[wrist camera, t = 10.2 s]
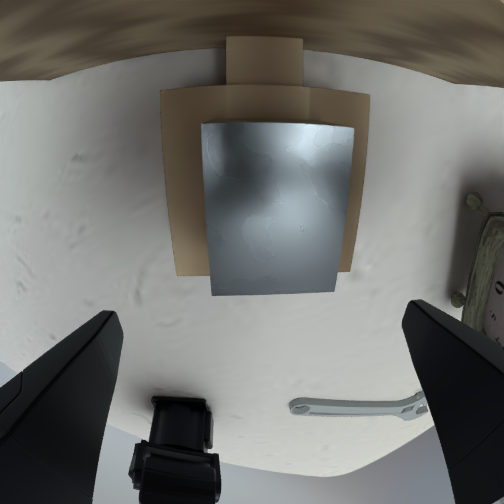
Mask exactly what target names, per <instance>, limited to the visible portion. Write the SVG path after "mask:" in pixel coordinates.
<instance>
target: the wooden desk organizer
mask: <svg viewBox="0 0 504 504" xmlns="http://www.w3.org/2000/svg"><path fill="white" fill-rule="evenodd" d="M222 47H226V85H216V86H198V87H186V88H175V89H166V90H160V104H161V128H162V145H163V160H164V172H165V184H166V194H167V204H168V213H169V222H170V230H171V238H172V246H173V253H174V260H175V267H176V274H177V276H210V268H209V256H208V243H207V229H206V214H205V198H204V180H203V158H202V131H201V124H202V123H205V122H207V121H209V120H211V119H235V118H271V119H299V120H316V121H326V122H330V123H335V124H339V125H344V126H348V127H352V128H354V139H353V153H352V165H351V176H350V186H349V195H348V204H347V212H346V220H345V228H344V235H343V242H342V248H341V255H340V261H339V267H338V272H350V269H351V264H352V258H353V253H354V247H355V241H356V235H357V228H358V222H359V215H360V208H361V200H362V192H363V184H364V175H365V165H366V155H367V143H368V129H369V111H370V95H369V94H362V93H356V92H349V91H341V90H333V89H324V88H313V87H303V50H312V51H321V52H329V53H336V54H343V55H349V56H354V57H360V58H365V59H370V60H375V61H379V62H384V63H388V64H392V65H396V66H400V67H404V68H407V69H411V70H415V71H418V72H421V73H425V74H428V75H431V76H434V77H437V78H440V79H443V80H446V81H448V82H451V83H454V84H466V85H480V86H491V87H500V88H504V0H0V81H19V80H52V79H54V78H57V77H60V76H63V75H66V74H70V73H73V72H76V71H79V70H83V69H87V68H90V67H94V66H98V65H102V64H106V63H110V62H114V61H119V60H124V59H129V58H134V57H139V56H145V55H151V54H158V53H165V52H173V51H181V50H191V49H204V48H222Z"/></svg>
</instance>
